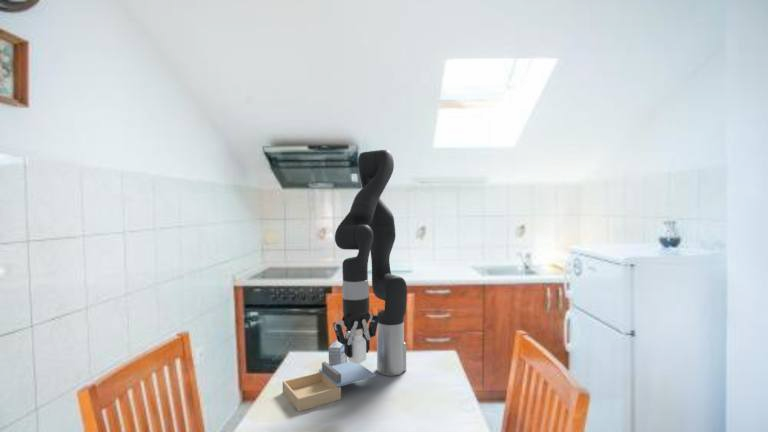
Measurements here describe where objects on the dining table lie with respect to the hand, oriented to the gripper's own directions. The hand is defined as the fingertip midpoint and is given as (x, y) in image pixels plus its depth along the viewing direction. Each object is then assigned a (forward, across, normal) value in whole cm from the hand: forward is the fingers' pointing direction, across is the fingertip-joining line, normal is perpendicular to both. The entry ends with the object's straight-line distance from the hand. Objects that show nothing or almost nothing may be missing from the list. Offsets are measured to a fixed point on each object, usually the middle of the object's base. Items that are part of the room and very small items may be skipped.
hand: (357, 354), depth 117 cm
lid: (+12, -3, -13) cm, 18 cm away
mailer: (+15, +9, -13) cm, 22 cm away
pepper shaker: (+2, 0, 0) cm, 2 cm away
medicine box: (+16, -8, -27) cm, 32 cm away
